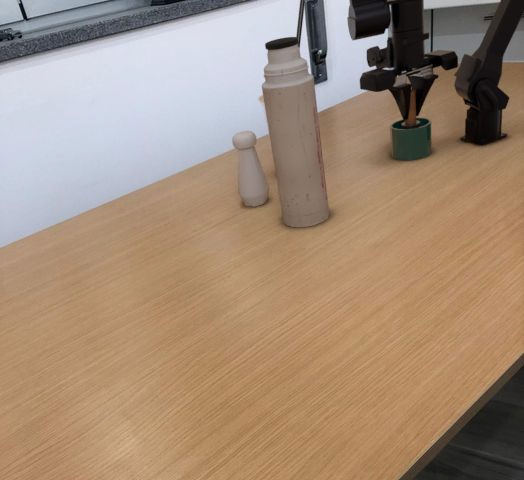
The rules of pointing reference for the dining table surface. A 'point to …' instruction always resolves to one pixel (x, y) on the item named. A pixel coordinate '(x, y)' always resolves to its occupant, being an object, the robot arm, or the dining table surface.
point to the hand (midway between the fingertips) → (410, 117)
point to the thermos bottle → (294, 134)
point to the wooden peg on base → (411, 114)
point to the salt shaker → (250, 170)
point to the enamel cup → (411, 140)
